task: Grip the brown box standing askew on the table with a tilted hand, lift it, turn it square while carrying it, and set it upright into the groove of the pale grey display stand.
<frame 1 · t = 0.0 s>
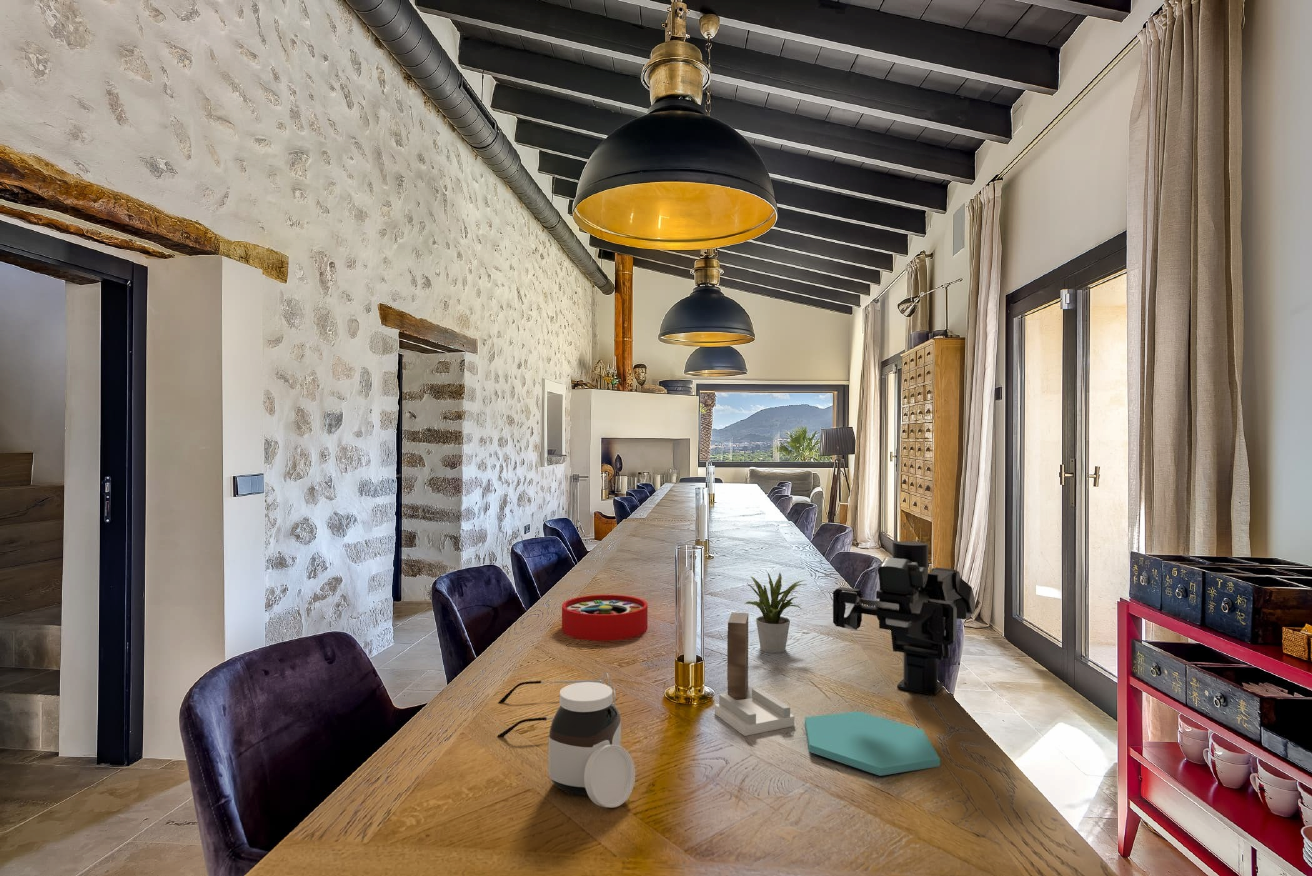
hand: (875, 626, 101), 17 cm above the table, tool horizontal, fingers open, 9 cm apart
toy clock: (604, 630, 159), on the table
brown box: (738, 691, 119), on the table
house plant: (776, 652, 142), on the table
spread jar: (594, 789, 86), on the table
plaque: (868, 749, 99), on the table
eyeglasses: (557, 718, 109), on the table
display stand: (753, 719, 107), on the table
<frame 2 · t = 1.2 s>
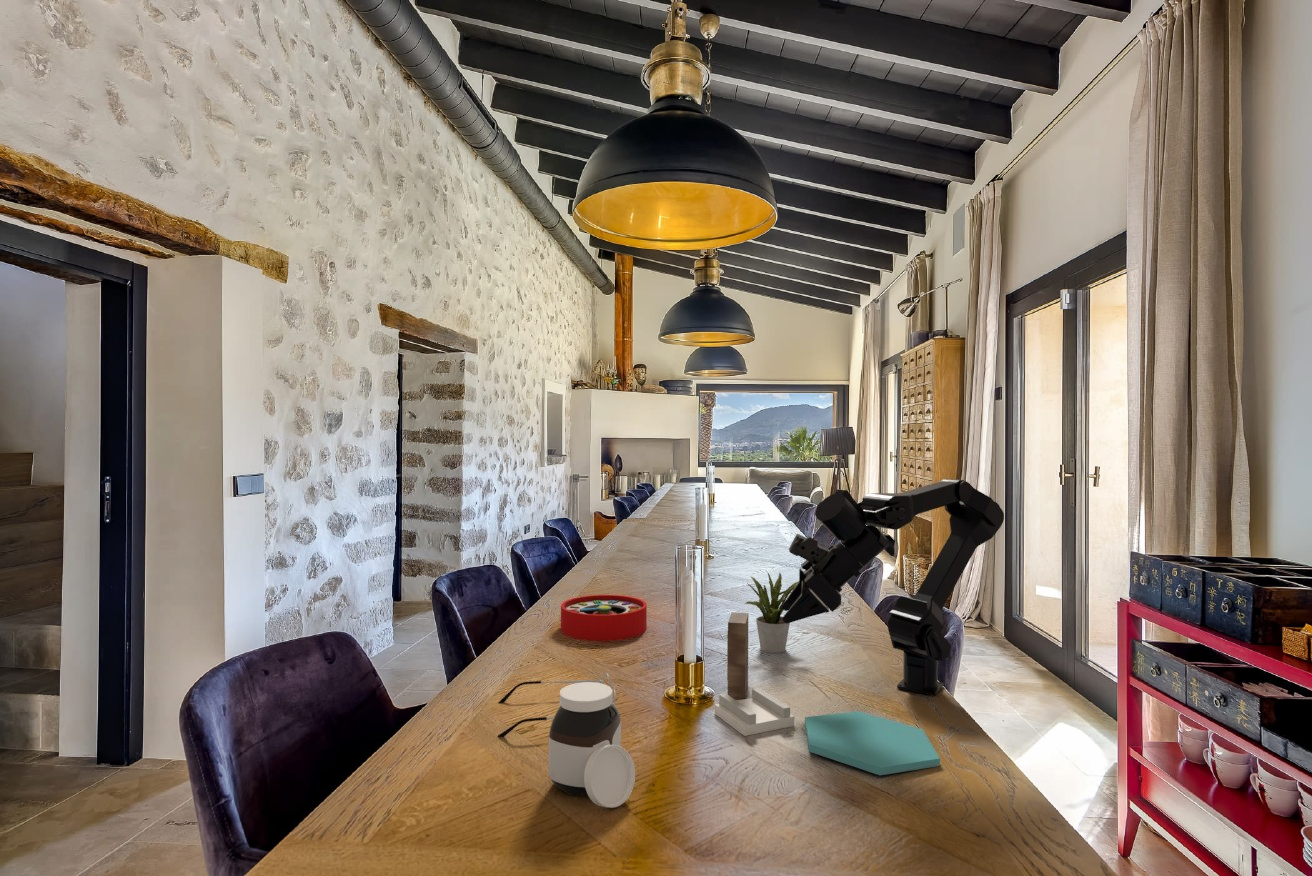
hand: (783, 614, 117), 14 cm above the table, tool tilted 45°, fingers open, 9 cm apart
nothing on the table moved.
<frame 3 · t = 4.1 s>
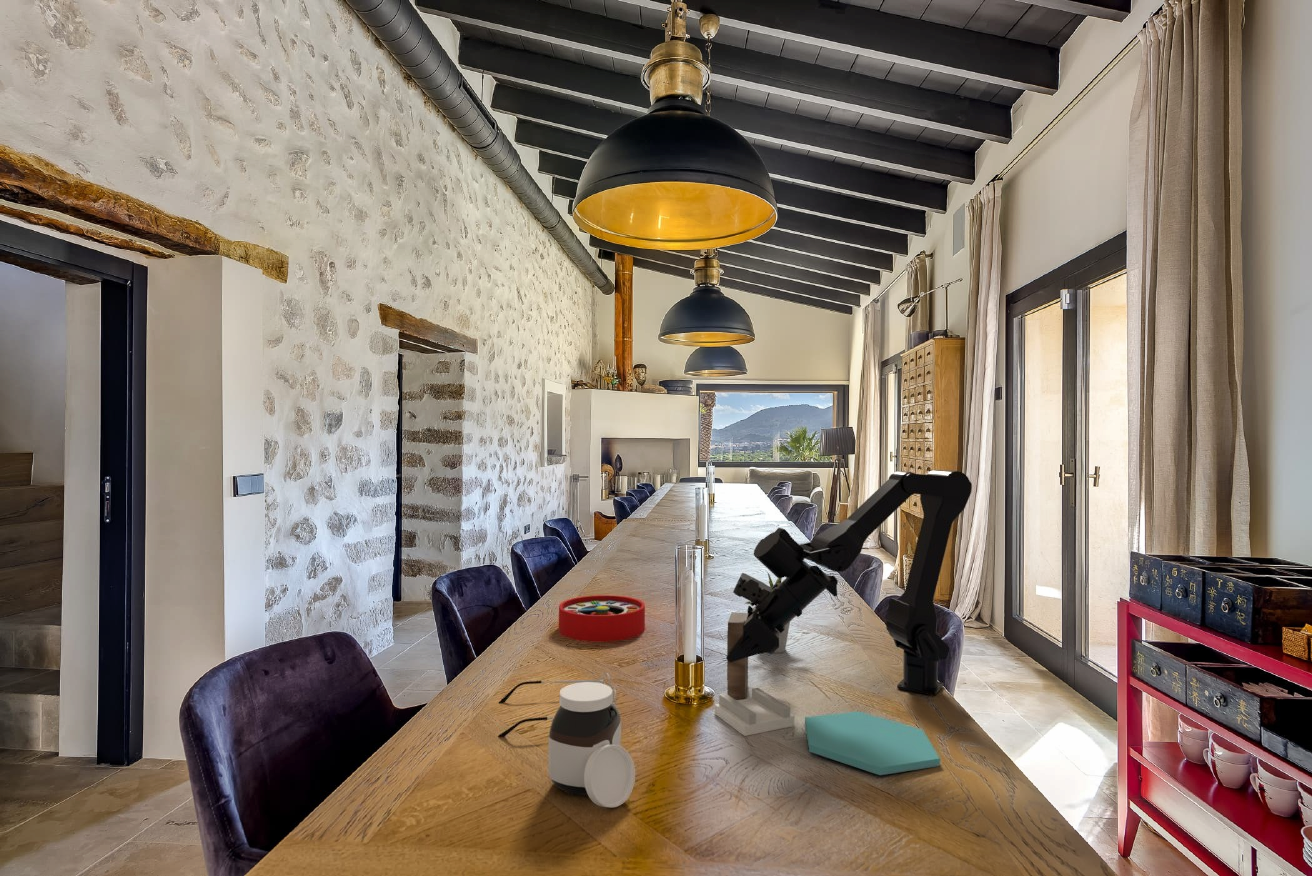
hand: (730, 653, 120), 7 cm above the table, tool tilted 45°, fingers closed on brown box, 7 cm apart
brown box: (737, 691, 119), on the table, touching gripper
when the fingers open (9 cm above the table, at t = 8.4 s): brown box drops 1 cm, resting on display stand.
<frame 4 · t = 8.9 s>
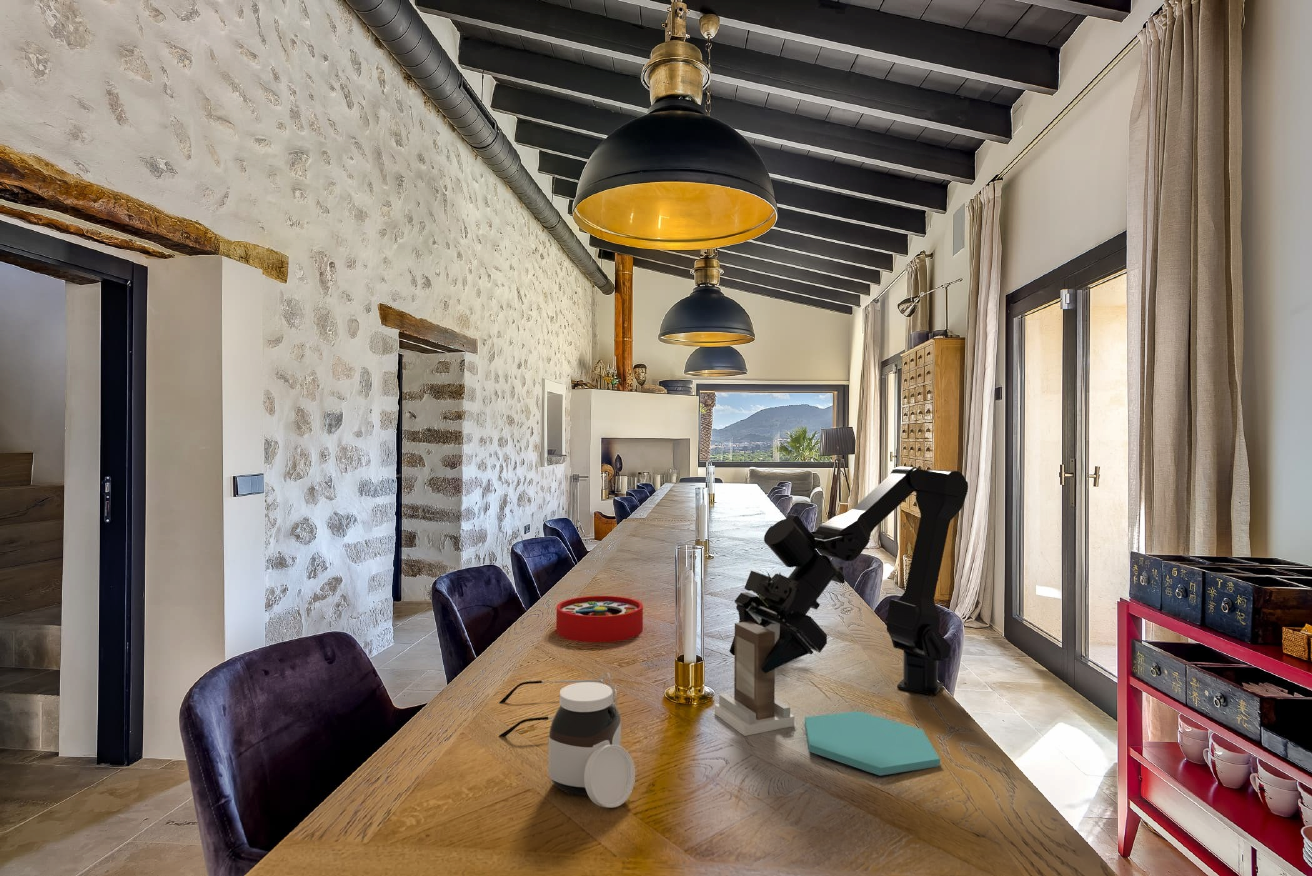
hand: (746, 662, 107), 9 cm above the table, tool tilted 45°, fingers open, 9 cm apart
brown box: (753, 710, 107), point 1 cm above the table, touching display stand
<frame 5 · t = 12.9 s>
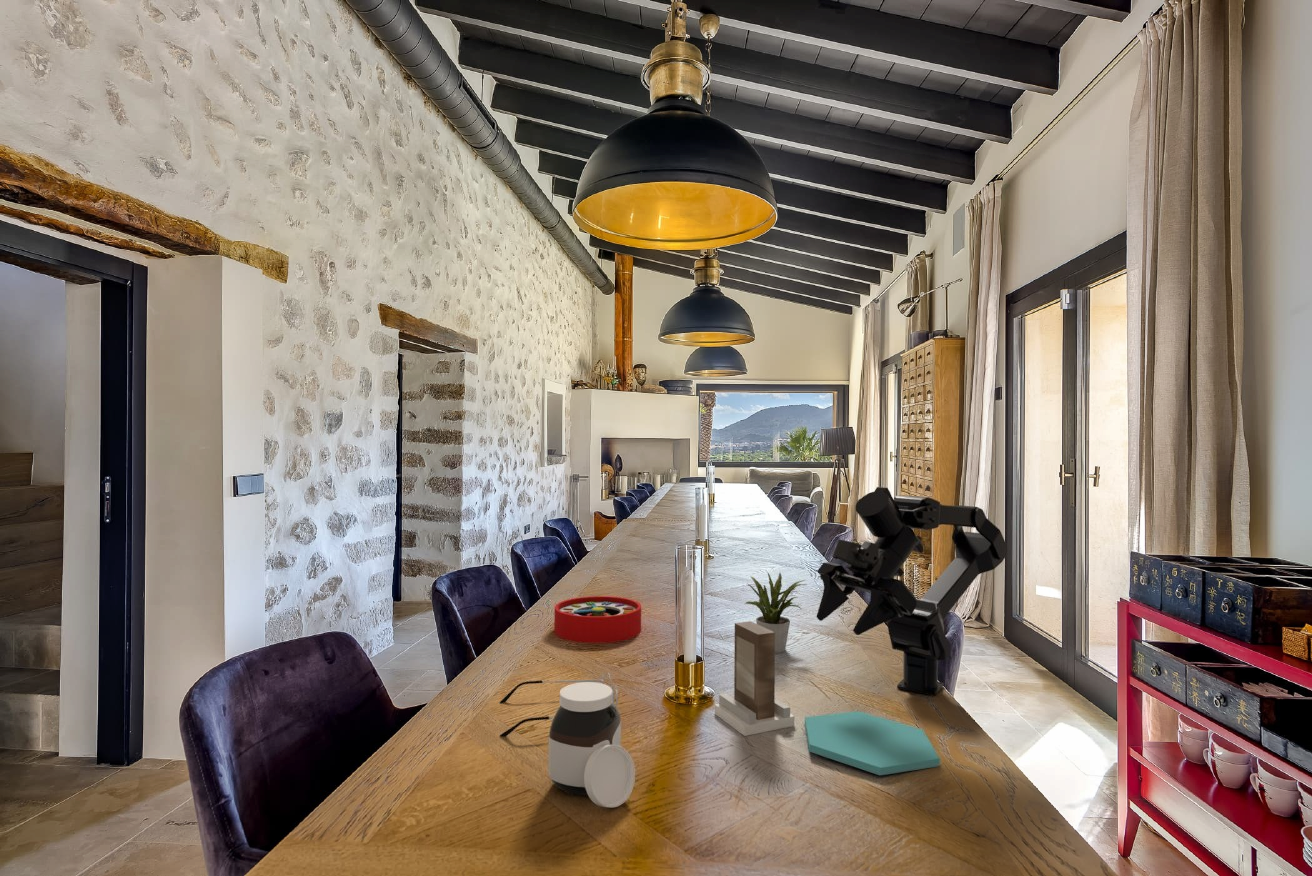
hand: (836, 625, 112), 14 cm above the table, tool tilted 45°, fingers open, 9 cm apart
at the end: brown box 0.0 cm off-centre on the display stand, point 1.5 cm above the display stand's base; brown box tilted 0°; the gripper is holding nothing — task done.
